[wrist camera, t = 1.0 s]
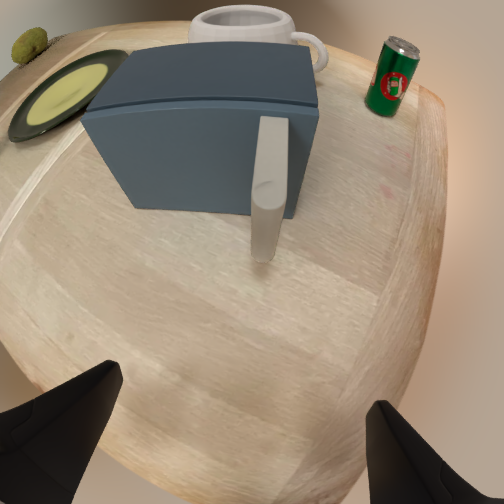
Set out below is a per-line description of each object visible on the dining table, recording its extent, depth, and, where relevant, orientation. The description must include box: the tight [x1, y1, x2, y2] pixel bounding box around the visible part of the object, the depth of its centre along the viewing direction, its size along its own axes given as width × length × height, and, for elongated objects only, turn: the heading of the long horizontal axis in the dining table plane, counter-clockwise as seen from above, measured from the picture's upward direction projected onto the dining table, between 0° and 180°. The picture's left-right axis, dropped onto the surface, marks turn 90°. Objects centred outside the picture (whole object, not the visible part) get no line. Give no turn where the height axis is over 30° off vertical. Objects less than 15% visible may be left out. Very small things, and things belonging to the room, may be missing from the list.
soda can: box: [365, 36, 420, 116], centre depth 27 cm, size 5×5×12 cm
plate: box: [8, 49, 128, 142], centre depth 35 cm, size 28×28×2 cm
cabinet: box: [86, 41, 318, 112], centre depth 21 cm, size 9×16×13 cm, turn 85°
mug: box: [188, 5, 329, 74], centre depth 31 cm, size 21×17×10 cm
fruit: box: [11, 27, 48, 64], centre depth 47 cm, size 16×14×15 cm
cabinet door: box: [80, 100, 319, 263], centre depth 18 cm, size 7×16×12 cm, turn 85°
